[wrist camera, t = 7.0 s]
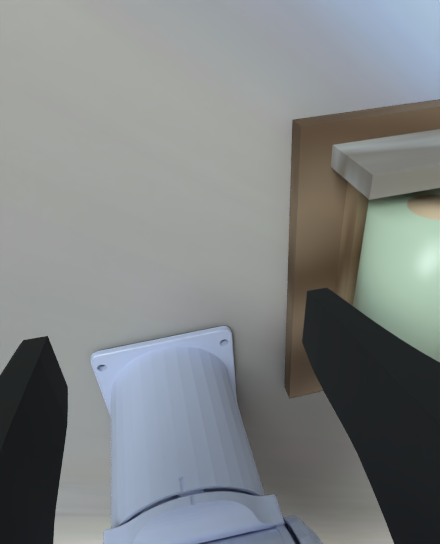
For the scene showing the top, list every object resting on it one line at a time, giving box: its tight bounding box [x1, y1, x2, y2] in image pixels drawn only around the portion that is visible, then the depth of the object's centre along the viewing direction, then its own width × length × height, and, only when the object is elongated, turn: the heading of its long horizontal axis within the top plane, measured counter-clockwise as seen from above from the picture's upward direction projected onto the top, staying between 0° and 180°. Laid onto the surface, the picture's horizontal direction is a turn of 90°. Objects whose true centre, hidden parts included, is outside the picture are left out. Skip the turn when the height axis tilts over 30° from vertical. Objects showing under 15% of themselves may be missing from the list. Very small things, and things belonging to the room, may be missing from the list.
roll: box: [353, 188, 440, 362], centre depth 19 cm, size 8×5×5 cm, turn 4°
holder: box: [285, 99, 440, 398], centre depth 22 cm, size 18×9×4 cm, turn 4°
